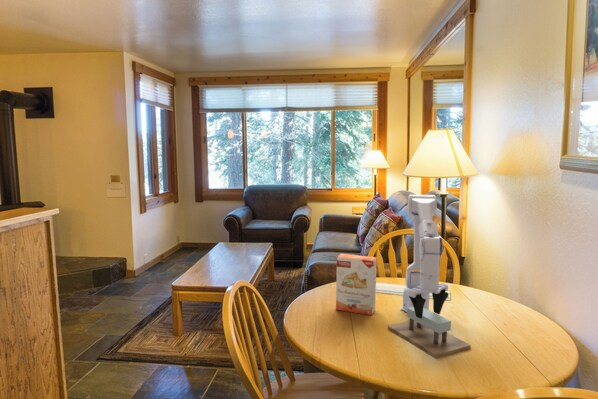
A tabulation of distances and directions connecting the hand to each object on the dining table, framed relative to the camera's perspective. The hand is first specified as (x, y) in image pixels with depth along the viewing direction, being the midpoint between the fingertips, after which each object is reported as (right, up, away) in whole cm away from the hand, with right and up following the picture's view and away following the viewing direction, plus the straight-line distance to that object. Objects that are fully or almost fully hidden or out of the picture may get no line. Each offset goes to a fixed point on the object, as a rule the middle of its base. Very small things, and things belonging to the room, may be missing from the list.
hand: (427, 315), depth 128 cm
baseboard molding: (+7, -4, +43) cm, 43 cm away
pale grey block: (0, -3, 0) cm, 3 cm away
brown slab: (0, -8, +1) cm, 8 cm away
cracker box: (-20, -5, +23) cm, 31 cm away
